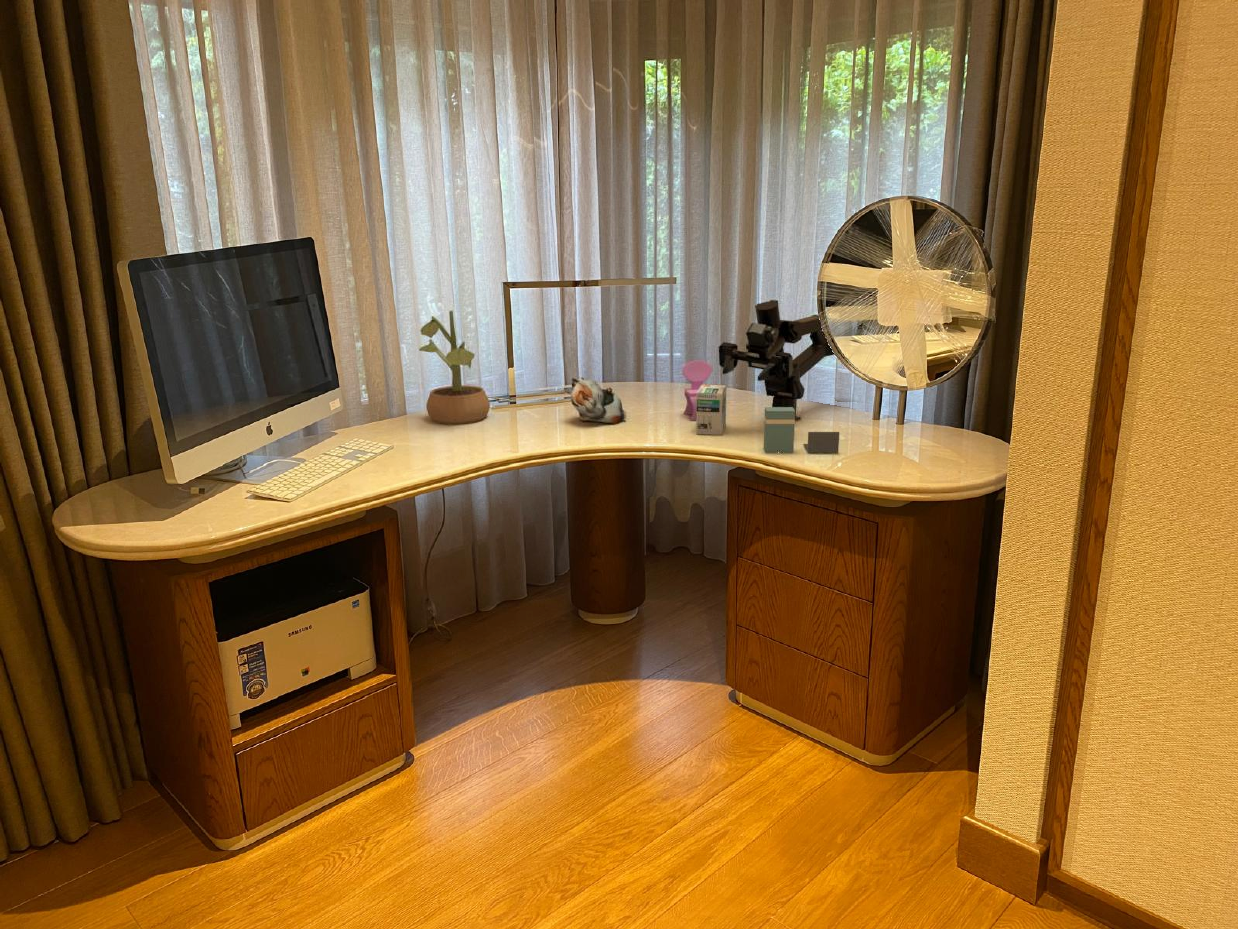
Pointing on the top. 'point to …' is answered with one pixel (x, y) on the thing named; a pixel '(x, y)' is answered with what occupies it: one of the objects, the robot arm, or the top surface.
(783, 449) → the green striped box
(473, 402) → the potted plant
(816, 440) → the bookend
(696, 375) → the toy chair
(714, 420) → the light bulb box
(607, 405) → the lucky cat figurine
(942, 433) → the top surface
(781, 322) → the robot arm
